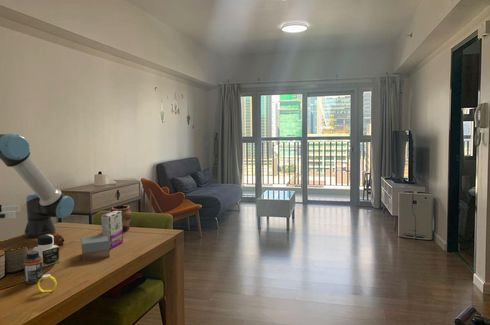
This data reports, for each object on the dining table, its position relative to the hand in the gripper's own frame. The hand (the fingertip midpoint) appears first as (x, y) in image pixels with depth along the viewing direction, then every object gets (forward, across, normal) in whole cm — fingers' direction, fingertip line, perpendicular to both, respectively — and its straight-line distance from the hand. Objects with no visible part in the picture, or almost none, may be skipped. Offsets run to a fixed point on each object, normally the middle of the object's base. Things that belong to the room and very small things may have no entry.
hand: (17, 211), depth 151 cm
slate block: (+29, -1, -20) cm, 35 cm away
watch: (+12, +33, -24) cm, 42 cm away
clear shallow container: (+29, -1, -24) cm, 38 cm away
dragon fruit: (+11, -20, -24) cm, 33 cm away
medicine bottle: (+10, 0, -24) cm, 26 cm away
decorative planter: (+45, -40, -23) cm, 65 cm away
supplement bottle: (+7, +20, -24) cm, 32 cm away
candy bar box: (+38, -13, -24) cm, 47 cm away
